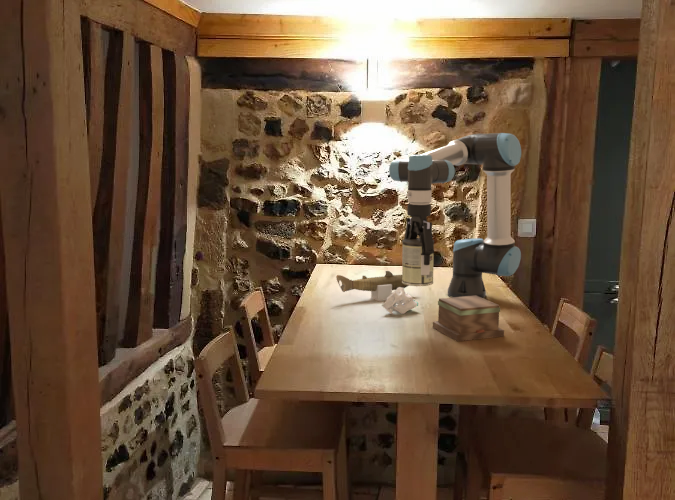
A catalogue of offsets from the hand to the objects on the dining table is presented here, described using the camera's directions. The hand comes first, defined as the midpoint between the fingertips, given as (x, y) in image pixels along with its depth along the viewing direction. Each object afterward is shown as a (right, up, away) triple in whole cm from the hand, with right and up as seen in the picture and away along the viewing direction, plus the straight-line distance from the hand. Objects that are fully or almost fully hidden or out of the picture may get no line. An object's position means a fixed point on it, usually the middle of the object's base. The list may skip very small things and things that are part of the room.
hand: (417, 271), depth 204 cm
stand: (+16, -20, +1) cm, 26 cm away
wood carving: (-11, -13, +44) cm, 47 cm away
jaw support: (-3, -16, +26) cm, 30 cm away
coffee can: (0, -4, +1) cm, 4 cm away
